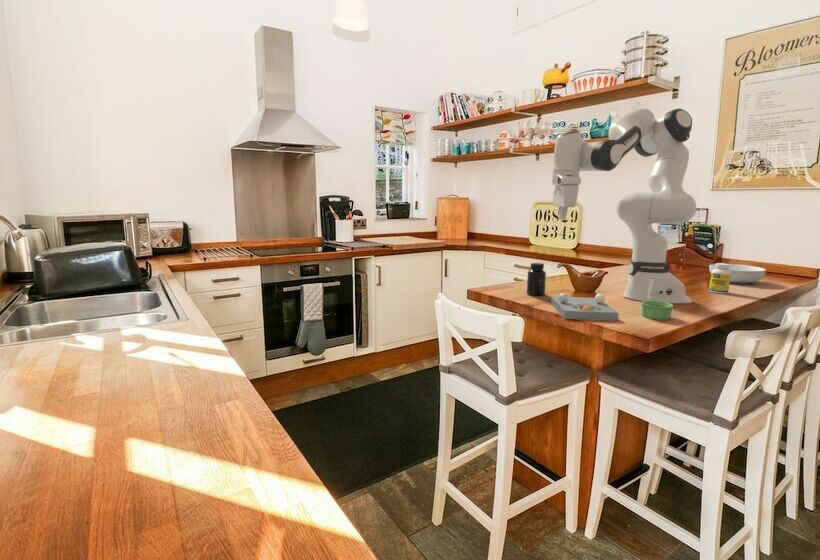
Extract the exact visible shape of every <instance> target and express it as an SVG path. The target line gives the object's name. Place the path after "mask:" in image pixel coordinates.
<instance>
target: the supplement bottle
mask: <svg viewBox="0 0 820 560" xmlns="http://www.w3.org/2000/svg"><path fill="white" fill-rule="evenodd" d="M544 267H545V265H544V263H542V262H531V263H530V267H529V268H530V270H528V272H527V279H526V281H527V282H526V293H527V295H528V294H529V296H533V295H534V296H536V297H541V296H545V294H546V282H547V281H546V279H547V272H546V270H544ZM534 296H533V297H534Z"/></svg>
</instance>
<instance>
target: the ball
mask: <svg viewBox="0 0 820 560" xmlns="http://www.w3.org/2000/svg"><path fill="white" fill-rule="evenodd" d="M582 309H587V310H592V307H591V306H588V305H586V306H584V307H583V308H582Z"/></svg>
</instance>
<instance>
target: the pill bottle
mask: <svg viewBox="0 0 820 560" xmlns="http://www.w3.org/2000/svg"><path fill="white" fill-rule="evenodd" d="M715 264H716V265H715V267H716V269H714V270H712V273H710V274H711V275H710V280H709V288H708V292H711V293H713V294H723V295H726V294H728V293H729V289H730V284H731V283H730V278H731V272H730V271H729V270H728V268H729V267H730V264H731V263H724V262H717V263H715Z"/></svg>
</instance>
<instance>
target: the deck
mask: <svg viewBox="0 0 820 560" xmlns="http://www.w3.org/2000/svg"><path fill="white" fill-rule="evenodd" d="M558 297H559V296H551V299H550V304H551V305H552V307H554V309H555V308H556V309H555V310H556V311H557V312H558V313H559V315H560V316H561V317H562V318H563V319H566V320H567V319H569V320H586V319H589V320H590V321H591V320H592V321H613V322H614V321H617V322H618V320H619V312H618V311H616V310H615V309H614V308H613V307H612V306H610V305H608V304H607V303H605V301H604V302H603V303H597V302H596V301H595V297H583V296H579V297H576V296H568V297H569V299H568V301H567V302H565V303H562V302H560V301H559V298H558ZM586 305H588V306H591V307H592V310H587V309H582V308H583V307H584V306H586Z"/></svg>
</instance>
